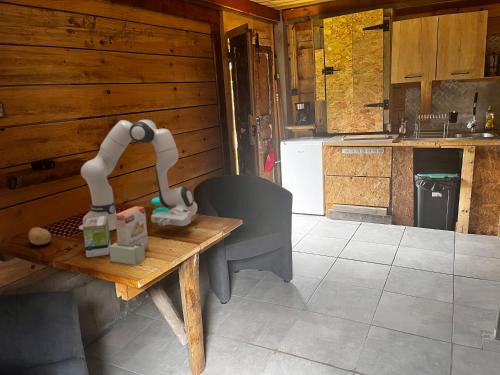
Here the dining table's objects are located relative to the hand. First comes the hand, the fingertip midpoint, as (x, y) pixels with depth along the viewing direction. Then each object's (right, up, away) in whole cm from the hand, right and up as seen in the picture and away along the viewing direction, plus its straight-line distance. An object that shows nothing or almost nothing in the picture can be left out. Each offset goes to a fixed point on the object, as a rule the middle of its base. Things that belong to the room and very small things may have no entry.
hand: (160, 223), depth 193 cm
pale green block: (-10, -14, -22) cm, 27 cm away
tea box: (-27, -12, -9) cm, 31 cm away
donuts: (-10, +2, +44) cm, 45 cm away
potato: (-60, -11, +2) cm, 61 cm away
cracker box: (-8, -13, -15) cm, 22 cm away
